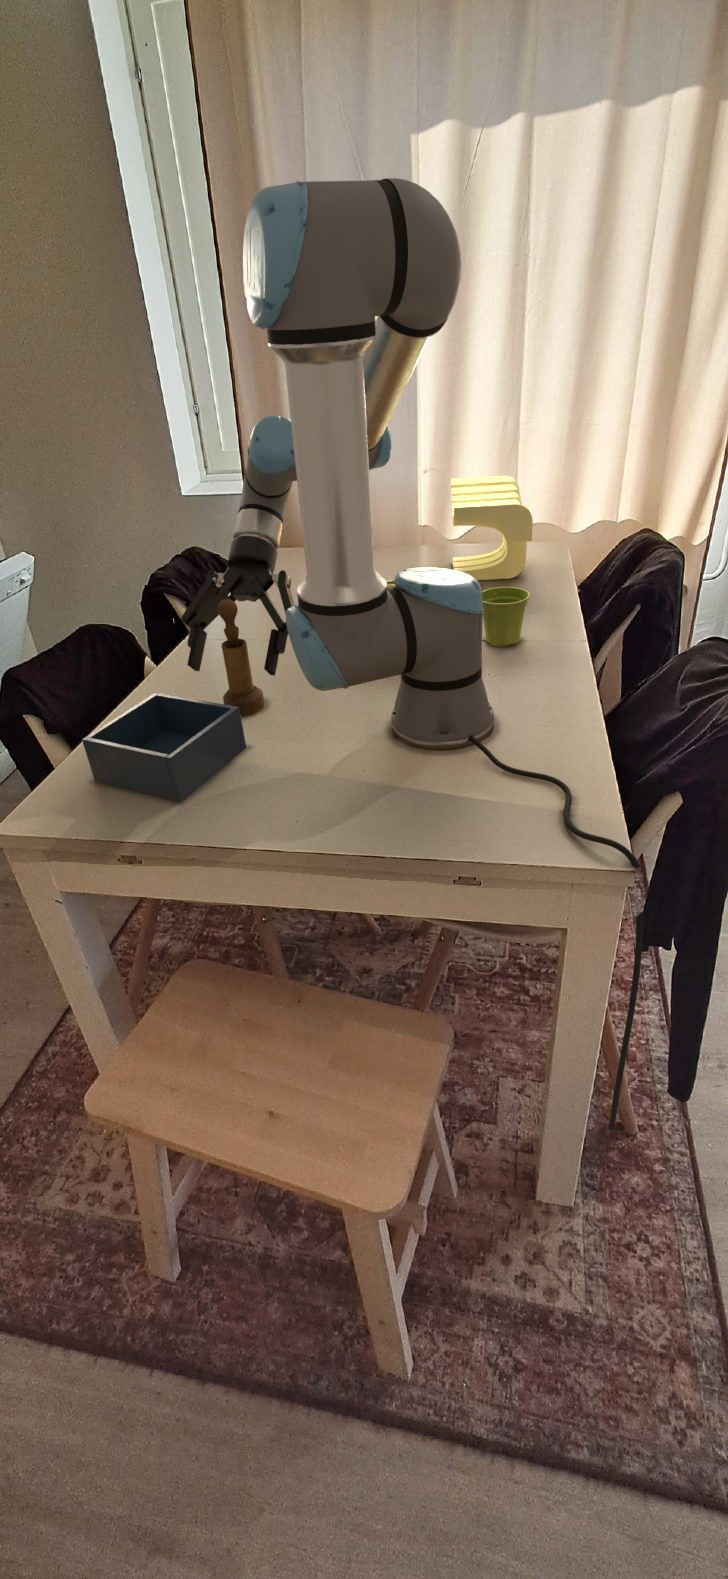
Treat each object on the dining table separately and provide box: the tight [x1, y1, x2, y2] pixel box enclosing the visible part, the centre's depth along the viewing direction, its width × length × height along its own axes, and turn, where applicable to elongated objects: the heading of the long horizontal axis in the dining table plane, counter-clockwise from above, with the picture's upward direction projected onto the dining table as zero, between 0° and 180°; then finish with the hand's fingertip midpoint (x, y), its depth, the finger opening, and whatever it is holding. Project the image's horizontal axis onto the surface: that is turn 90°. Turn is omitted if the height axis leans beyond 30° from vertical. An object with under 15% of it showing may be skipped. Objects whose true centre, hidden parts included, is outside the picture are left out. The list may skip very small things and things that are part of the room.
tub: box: [81, 692, 247, 803], centre depth 110 cm, size 16×16×7 cm
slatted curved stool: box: [450, 475, 534, 581], centre depth 173 cm, size 30×16×18 cm, turn 176°
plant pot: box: [481, 586, 531, 647], centre depth 139 cm, size 9×9×9 cm
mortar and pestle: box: [217, 599, 265, 717], centre depth 121 cm, size 7×6×18 cm
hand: (230, 670), depth 120 cm, fingers open, 12 cm apart
